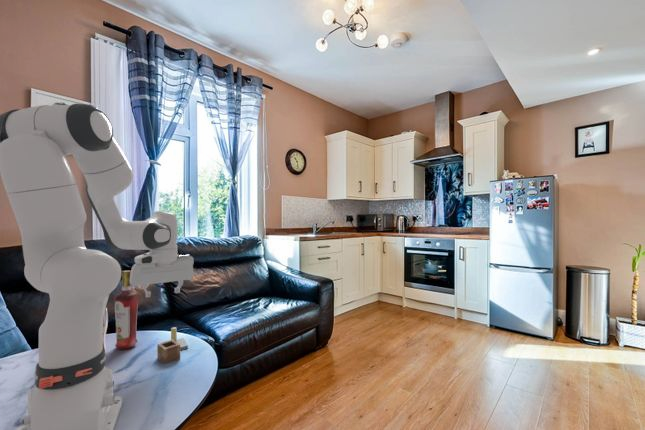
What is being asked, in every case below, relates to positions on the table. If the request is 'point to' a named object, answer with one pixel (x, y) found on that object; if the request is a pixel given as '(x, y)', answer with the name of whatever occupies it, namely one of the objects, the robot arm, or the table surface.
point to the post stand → (181, 341)
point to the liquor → (126, 314)
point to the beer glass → (105, 326)
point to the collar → (168, 351)
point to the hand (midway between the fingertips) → (163, 294)
